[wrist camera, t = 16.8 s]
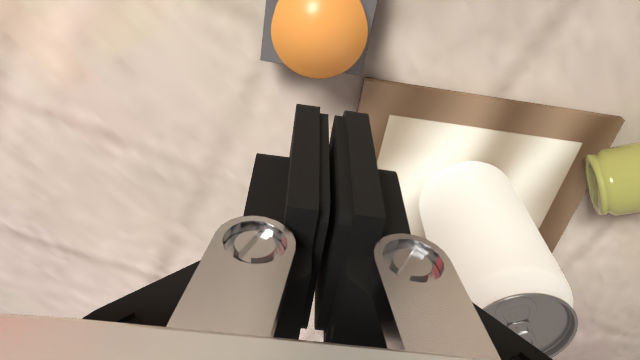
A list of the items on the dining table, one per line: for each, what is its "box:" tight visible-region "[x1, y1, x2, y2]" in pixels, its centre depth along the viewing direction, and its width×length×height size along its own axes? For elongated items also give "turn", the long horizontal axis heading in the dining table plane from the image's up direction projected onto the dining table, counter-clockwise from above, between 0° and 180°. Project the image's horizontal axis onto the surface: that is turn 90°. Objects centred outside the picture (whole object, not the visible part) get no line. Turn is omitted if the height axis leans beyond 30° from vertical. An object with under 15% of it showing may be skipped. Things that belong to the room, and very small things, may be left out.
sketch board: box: [357, 78, 625, 253], centre depth 36 cm, size 17×15×1 cm
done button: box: [271, 0, 368, 79], centre depth 25 cm, size 5×5×2 cm
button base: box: [260, 0, 377, 76], centre depth 27 cm, size 6×6×3 cm
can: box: [419, 161, 578, 358], centre depth 30 cm, size 6×6×12 cm
